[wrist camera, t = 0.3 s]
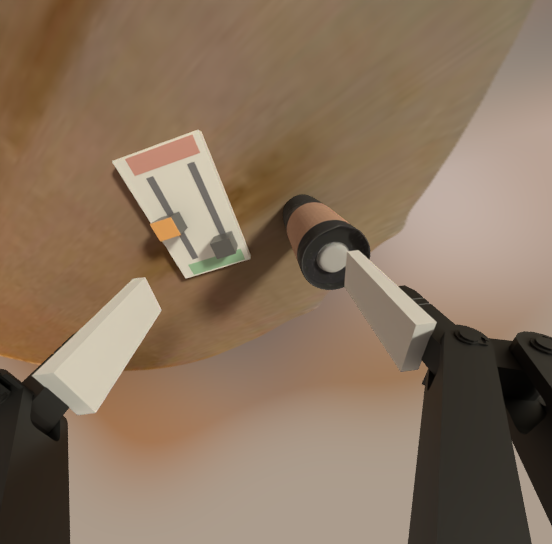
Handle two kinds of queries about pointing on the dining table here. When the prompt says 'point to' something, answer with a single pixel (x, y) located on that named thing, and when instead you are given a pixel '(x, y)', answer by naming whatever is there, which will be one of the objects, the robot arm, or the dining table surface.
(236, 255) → the board
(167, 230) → the breaker handle
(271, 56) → the dining table surface
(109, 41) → the dining table surface
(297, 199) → the travel mug
